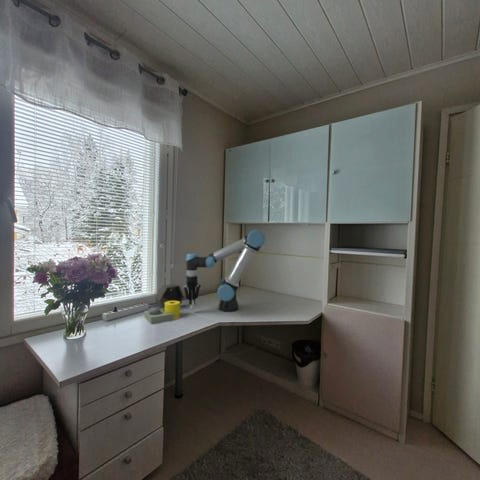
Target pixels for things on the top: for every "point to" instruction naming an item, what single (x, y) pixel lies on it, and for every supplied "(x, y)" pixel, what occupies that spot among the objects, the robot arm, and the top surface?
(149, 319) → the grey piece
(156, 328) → the top surface
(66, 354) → the top surface
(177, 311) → the yellow cylinder with hole
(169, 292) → the planter
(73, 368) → the top surface
